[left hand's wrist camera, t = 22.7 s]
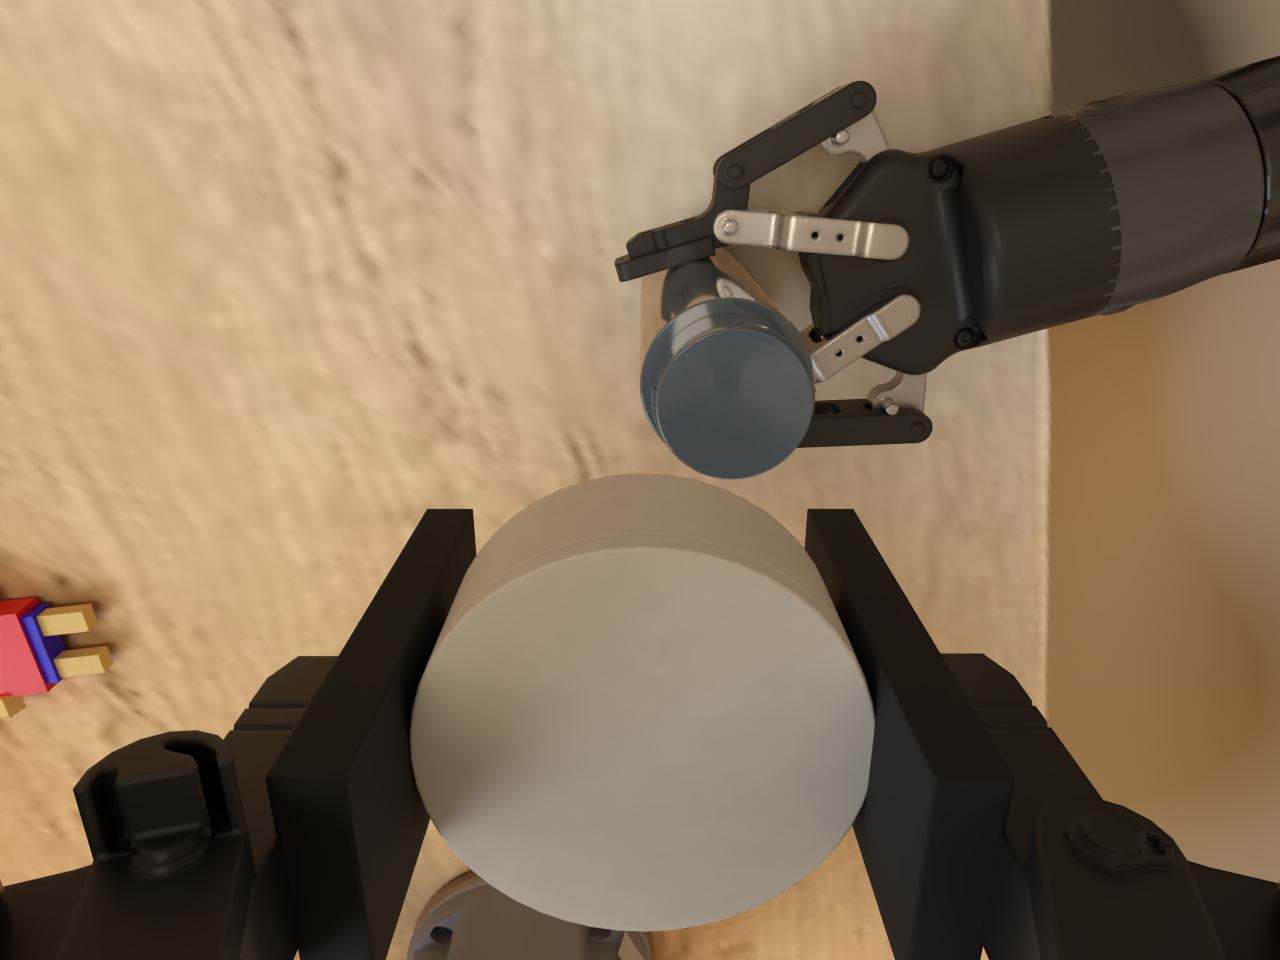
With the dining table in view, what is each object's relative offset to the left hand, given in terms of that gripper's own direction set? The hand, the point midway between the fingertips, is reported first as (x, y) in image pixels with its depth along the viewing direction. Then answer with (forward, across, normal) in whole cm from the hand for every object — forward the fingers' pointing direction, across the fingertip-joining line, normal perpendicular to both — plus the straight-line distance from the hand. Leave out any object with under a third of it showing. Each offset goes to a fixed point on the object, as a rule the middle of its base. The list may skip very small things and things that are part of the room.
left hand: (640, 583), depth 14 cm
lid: (-4, 0, 0) cm, 4 cm away
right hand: (+20, 0, 0) cm, 20 cm away
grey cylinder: (+27, +2, +1) cm, 27 cm away
